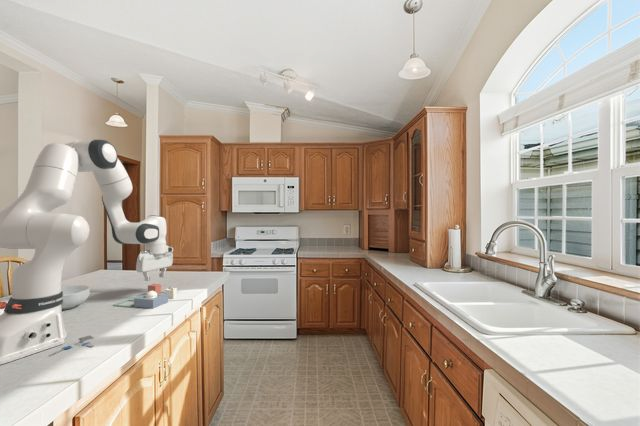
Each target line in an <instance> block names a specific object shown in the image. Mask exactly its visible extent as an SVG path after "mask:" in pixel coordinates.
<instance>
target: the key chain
mask: <svg viewBox="0 0 640 426" xmlns="http://www.w3.org/2000/svg"><path fill="white" fill-rule="evenodd" d="M92 339H95V337H93V336H92V335H86V336H81V337H79V338H78V340H79V341H77V342H73V343H72V342H71V343H69V345H68V346H64V347H62V348H61V349H60V350H58V351H55V352H53V353H51V354H49V355H48V357H50V356H52V355H55V354H57V353H60V352H61V351H64V350H68V349H71V348H72V349H73V348H74V346H77V345H78V346H79V347H81V346H82V347H89V348H93V347H94V346H95V344H91V342H89V341H88V340H92ZM85 341H88V342H85ZM71 345H74V346H71Z"/></svg>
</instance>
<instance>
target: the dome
mask: <svg viewBox="0 0 640 426" xmlns="http://www.w3.org/2000/svg"><path fill="white" fill-rule="evenodd" d="M146 293H147V294H146ZM146 293H145V294H146V298H155V297H157V293H156V292H155V291H149V292H148V291H147V292H146Z"/></svg>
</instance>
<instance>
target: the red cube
mask: <svg viewBox="0 0 640 426" xmlns="http://www.w3.org/2000/svg"><path fill="white" fill-rule="evenodd" d="M149 291H155V292H156V293H157V294H161V292H162V284H161V283H151V284H149V285H147V293H148V292H149Z"/></svg>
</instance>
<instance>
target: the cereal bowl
mask: <svg viewBox="0 0 640 426" xmlns="http://www.w3.org/2000/svg"><path fill="white" fill-rule="evenodd" d="M61 291H62V292H63V303H62V306H61V309H62V311H65V310H70V309H74V308H76V307H77V306H78V305H80V304H82V303H83V302H86V300H87V299H88V298H89V296H90V292H91V287H90V286H88V285H66V286H61Z"/></svg>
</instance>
